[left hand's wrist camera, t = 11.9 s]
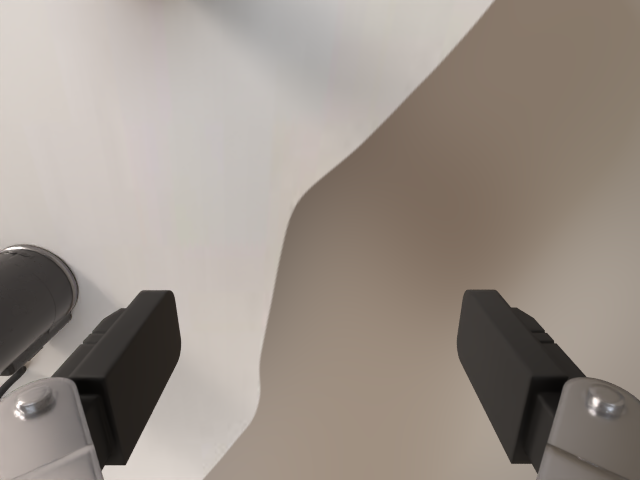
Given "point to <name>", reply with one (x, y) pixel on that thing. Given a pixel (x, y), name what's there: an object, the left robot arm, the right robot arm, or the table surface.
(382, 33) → the table surface
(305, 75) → the table surface
